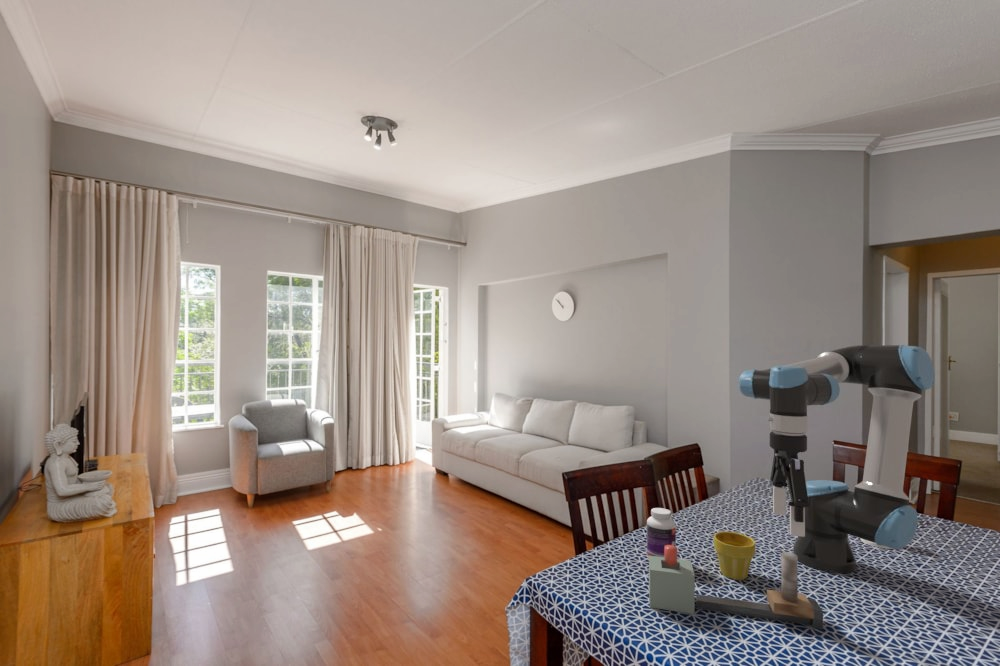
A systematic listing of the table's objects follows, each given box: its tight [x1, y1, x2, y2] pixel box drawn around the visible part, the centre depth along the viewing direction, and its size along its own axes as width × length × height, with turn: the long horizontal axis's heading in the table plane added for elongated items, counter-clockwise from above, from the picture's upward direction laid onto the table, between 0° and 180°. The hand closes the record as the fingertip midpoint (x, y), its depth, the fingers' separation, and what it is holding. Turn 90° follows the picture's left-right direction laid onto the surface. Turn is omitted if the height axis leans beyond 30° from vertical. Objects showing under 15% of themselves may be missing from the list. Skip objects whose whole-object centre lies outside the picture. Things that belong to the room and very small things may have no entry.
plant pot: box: [713, 530, 756, 581], centre depth 133 cm, size 10×10×10 cm
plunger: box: [664, 545, 678, 567], centre depth 119 cm, size 3×3×4 cm
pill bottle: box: [646, 507, 677, 560], centre depth 141 cm, size 8×8×14 cm
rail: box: [695, 593, 824, 630], centre depth 114 cm, size 26×5×4 cm, turn 75°
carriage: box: [766, 551, 814, 619], centre depth 112 cm, size 8×6×12 cm
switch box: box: [648, 556, 696, 615], centre depth 119 cm, size 10×8×9 cm
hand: (787, 524), depth 112 cm, fingers open, 13 cm apart
